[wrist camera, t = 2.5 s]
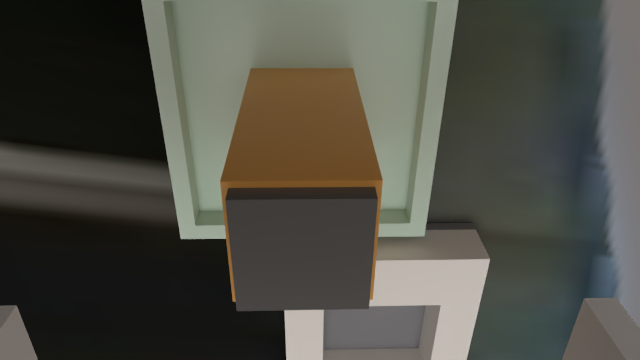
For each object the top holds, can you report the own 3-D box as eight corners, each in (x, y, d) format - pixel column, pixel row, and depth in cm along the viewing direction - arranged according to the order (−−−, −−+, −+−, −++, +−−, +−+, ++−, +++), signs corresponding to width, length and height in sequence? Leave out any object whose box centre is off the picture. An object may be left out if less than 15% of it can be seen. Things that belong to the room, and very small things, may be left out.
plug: (250, 68, 22) (216, 193, 13) (353, 68, 22) (385, 192, 13) (256, 158, 24) (230, 315, 15) (349, 157, 24) (374, 313, 15)
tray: (150, -30, 20) (137, -22, 19) (449, -28, 20) (461, -21, 19) (188, 217, 26) (180, 238, 25) (417, 215, 27) (424, 236, 25)
